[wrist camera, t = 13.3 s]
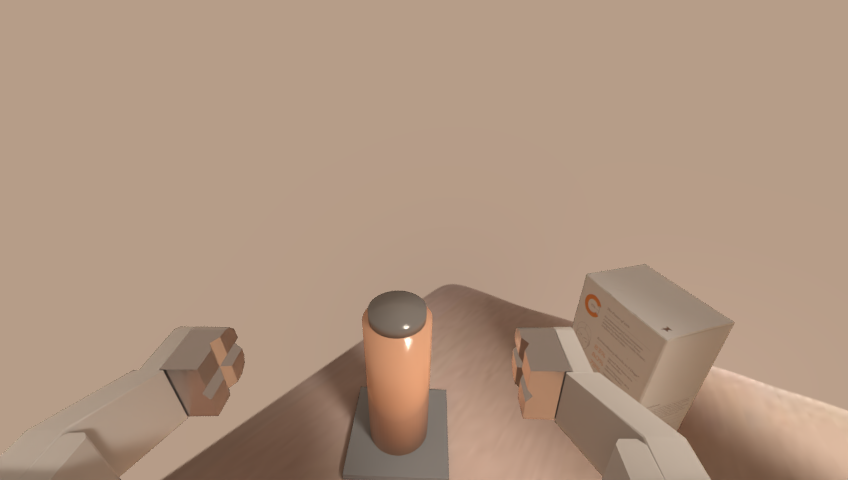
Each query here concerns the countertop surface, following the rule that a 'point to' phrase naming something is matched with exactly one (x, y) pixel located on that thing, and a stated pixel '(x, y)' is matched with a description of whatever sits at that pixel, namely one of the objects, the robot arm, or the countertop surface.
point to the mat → (407, 474)
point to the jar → (398, 370)
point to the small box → (649, 337)
